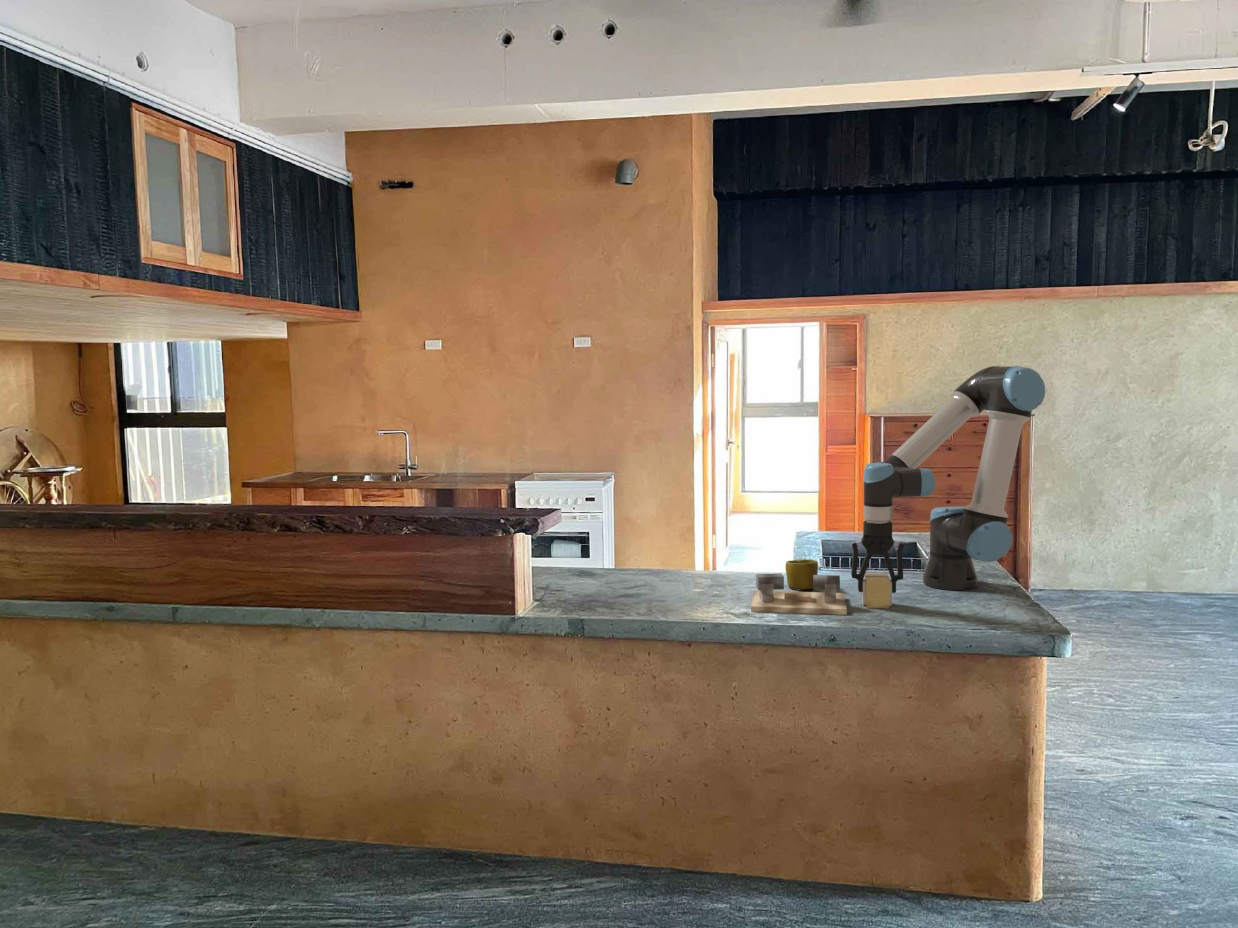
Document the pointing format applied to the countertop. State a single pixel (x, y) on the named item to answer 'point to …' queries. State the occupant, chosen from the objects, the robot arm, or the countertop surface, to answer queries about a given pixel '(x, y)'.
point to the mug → (801, 573)
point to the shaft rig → (798, 596)
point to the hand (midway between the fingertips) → (876, 603)
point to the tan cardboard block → (877, 590)
